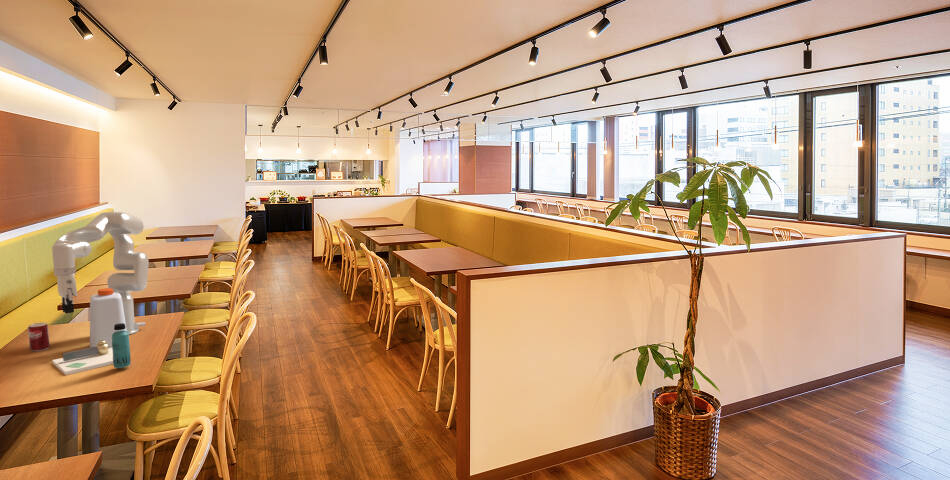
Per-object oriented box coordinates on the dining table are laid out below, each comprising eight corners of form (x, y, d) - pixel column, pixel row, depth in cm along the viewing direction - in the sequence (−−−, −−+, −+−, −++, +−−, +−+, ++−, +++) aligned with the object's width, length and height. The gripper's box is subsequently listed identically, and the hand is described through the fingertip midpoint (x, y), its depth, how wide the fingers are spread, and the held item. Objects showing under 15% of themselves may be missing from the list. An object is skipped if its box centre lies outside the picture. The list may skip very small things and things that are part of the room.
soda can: (38, 352, 247) (36, 327, 246) (25, 351, 249) (23, 326, 247) (53, 347, 254) (51, 323, 253) (41, 346, 256) (39, 321, 254)
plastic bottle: (129, 347, 256) (125, 290, 253) (90, 353, 247) (86, 294, 244) (126, 339, 268) (122, 284, 265) (89, 344, 259) (85, 288, 255)
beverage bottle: (118, 366, 233) (115, 321, 230) (134, 365, 234) (131, 321, 231) (110, 371, 227) (106, 326, 224) (126, 371, 227) (123, 326, 224)
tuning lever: (106, 350, 246) (105, 339, 245) (109, 352, 243) (109, 341, 242) (62, 360, 233) (61, 348, 232) (65, 362, 230) (64, 350, 230)
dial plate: (112, 350, 252) (112, 346, 252) (128, 360, 240) (127, 356, 239) (52, 363, 234) (52, 359, 234) (65, 375, 222) (65, 371, 222)
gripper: (80, 272, 231) (84, 313, 234) (69, 267, 242) (73, 307, 244) (59, 275, 226) (63, 317, 228) (49, 270, 236) (52, 310, 238)
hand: (68, 311), depth 236 cm, fingers open, 2 cm apart
